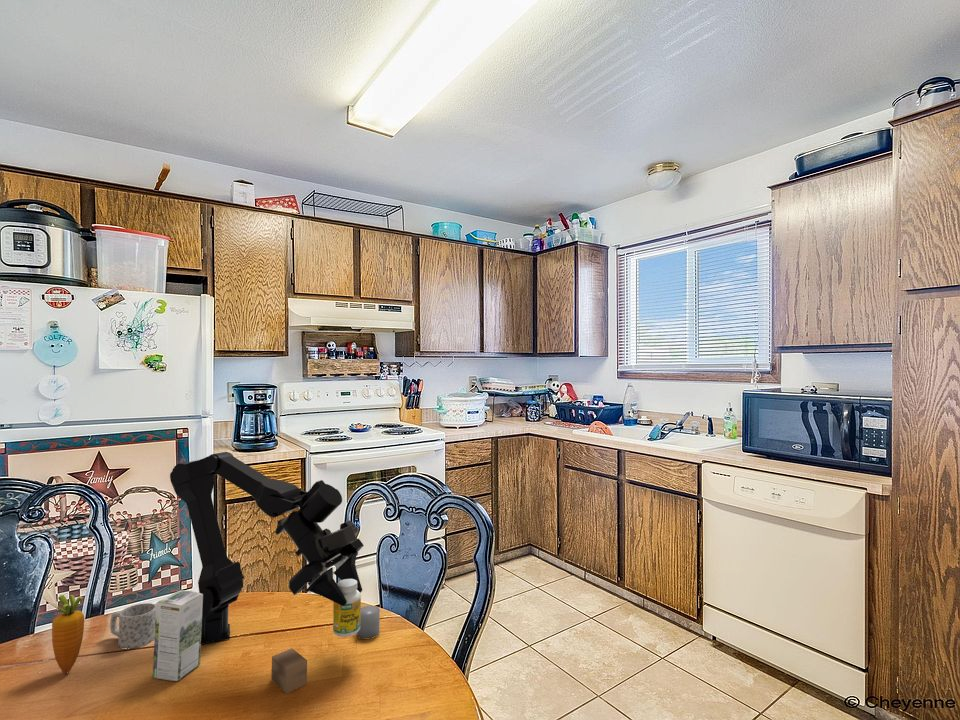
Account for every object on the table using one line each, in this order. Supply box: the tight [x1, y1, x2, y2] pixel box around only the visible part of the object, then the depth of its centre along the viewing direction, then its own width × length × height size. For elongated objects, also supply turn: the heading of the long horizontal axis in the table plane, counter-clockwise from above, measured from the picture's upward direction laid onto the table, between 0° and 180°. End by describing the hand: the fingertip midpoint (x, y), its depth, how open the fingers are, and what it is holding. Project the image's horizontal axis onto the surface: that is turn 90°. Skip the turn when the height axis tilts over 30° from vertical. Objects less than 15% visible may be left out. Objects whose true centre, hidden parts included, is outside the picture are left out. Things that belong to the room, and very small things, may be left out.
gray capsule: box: [356, 605, 381, 639], centre depth 112 cm, size 5×5×5 cm
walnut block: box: [270, 647, 308, 695], centre depth 94 cm, size 6×4×4 cm, turn 48°
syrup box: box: [152, 589, 203, 682], centre depth 97 cm, size 6×6×14 cm
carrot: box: [51, 594, 85, 674], centre depth 96 cm, size 5×5×15 cm
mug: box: [109, 602, 156, 650], centre depth 108 cm, size 10×7×7 cm, turn 80°
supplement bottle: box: [332, 579, 362, 638], centre depth 100 cm, size 5×5×10 cm
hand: (353, 598), depth 100 cm, fingers closed on supplement bottle, 5 cm apart
